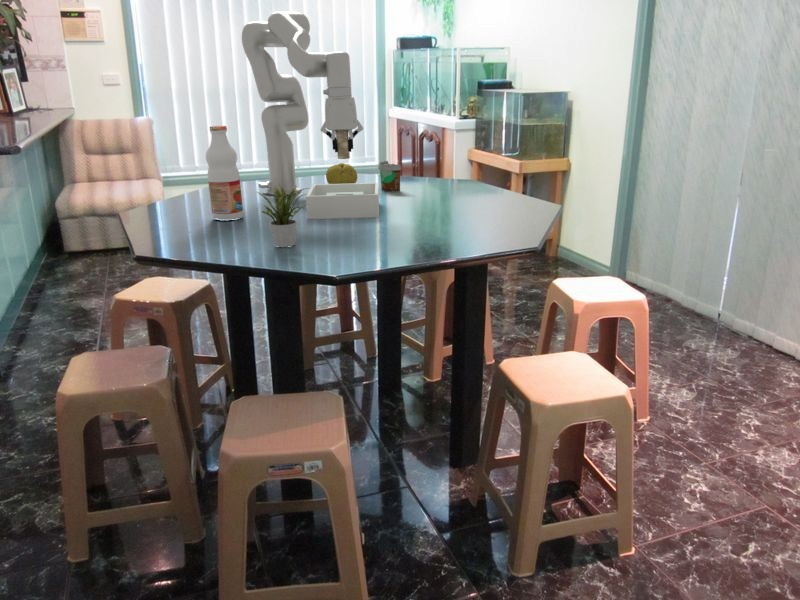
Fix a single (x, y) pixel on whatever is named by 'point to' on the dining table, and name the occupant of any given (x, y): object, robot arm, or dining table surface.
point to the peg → (342, 144)
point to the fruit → (341, 174)
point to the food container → (389, 176)
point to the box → (343, 201)
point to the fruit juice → (223, 176)
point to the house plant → (283, 218)
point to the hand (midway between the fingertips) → (343, 151)
